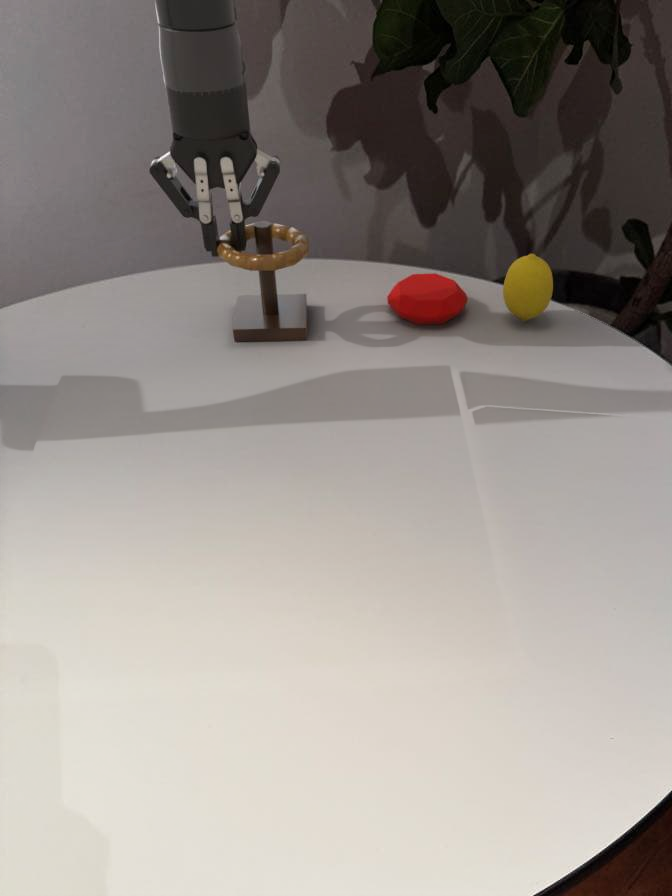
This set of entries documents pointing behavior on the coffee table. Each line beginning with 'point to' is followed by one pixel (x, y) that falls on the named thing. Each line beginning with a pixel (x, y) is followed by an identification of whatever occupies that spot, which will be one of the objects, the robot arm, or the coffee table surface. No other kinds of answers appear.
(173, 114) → the robot arm
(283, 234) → the ring
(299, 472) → the coffee table surface
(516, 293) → the lemon
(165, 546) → the coffee table surface
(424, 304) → the gemstone
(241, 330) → the peg stand
